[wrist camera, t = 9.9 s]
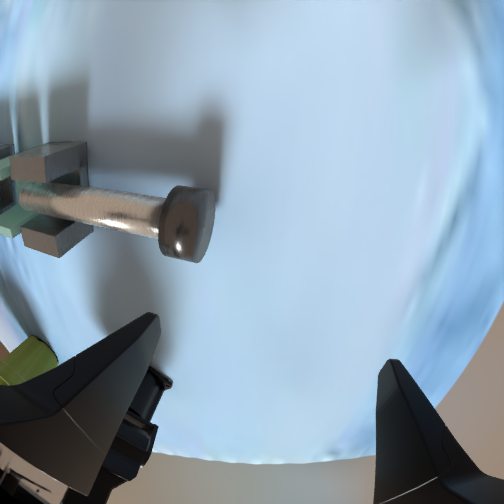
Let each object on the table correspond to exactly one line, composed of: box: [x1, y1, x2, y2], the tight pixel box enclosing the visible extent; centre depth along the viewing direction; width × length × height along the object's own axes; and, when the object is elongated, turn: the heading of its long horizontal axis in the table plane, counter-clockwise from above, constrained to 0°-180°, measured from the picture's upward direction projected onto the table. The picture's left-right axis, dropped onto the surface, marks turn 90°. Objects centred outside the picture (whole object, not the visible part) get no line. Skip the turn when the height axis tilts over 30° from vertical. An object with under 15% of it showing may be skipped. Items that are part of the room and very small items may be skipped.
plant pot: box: [0, 336, 58, 385], centre depth 33 cm, size 12×12×11 cm
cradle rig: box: [0, 142, 93, 258], centre depth 19 cm, size 16×8×5 cm, turn 83°
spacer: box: [0, 152, 40, 238], centre depth 19 cm, size 4×6×6 cm
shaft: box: [19, 181, 215, 263], centre depth 18 cm, size 16×4×4 cm, turn 83°
